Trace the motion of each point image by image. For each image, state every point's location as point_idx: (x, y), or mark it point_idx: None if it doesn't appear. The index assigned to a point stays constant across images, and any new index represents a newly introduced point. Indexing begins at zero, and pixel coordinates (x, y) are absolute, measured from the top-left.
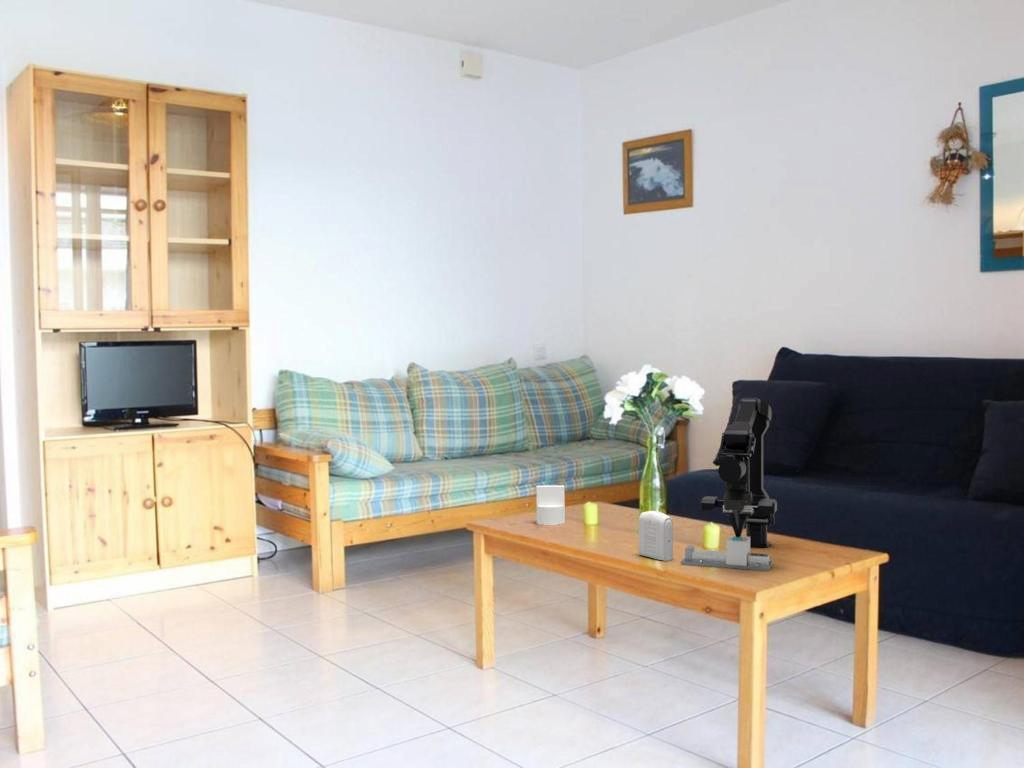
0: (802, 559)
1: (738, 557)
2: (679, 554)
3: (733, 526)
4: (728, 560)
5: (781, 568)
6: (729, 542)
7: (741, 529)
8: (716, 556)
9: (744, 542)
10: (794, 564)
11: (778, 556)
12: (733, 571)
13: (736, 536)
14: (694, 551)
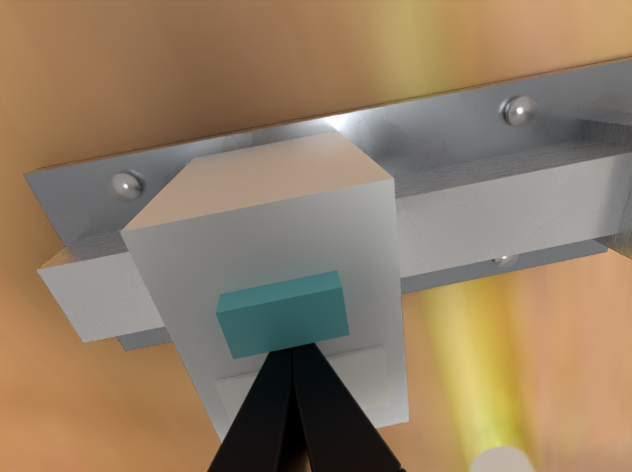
0: (71, 466)
1: (245, 161)
2: (628, 293)
3: (375, 462)
4: (324, 137)
5: (24, 275)
6: (343, 179)
7: (227, 448)
8: (433, 180)
9: (144, 223)
10: (33, 382)
11: (192, 459)
12: (244, 26)
13: (309, 346)
14: (616, 165)
